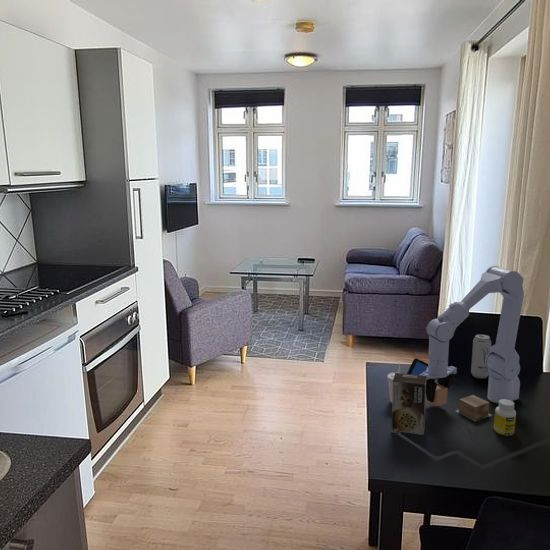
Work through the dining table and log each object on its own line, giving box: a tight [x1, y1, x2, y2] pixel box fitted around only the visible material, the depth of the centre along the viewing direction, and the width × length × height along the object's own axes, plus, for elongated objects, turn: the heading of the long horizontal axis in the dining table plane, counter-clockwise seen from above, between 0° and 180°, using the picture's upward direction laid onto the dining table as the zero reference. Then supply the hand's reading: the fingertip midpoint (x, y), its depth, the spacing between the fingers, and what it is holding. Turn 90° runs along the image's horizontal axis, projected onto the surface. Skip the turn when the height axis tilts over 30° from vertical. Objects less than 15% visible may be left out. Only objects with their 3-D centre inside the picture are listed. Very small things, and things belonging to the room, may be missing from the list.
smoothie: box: [386, 362, 404, 404], centre depth 159 cm, size 6×6×14 cm
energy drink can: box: [470, 333, 492, 379], centre depth 180 cm, size 6×6×15 cm
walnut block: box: [458, 394, 490, 420], centre depth 152 cm, size 6×6×4 cm
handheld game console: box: [406, 358, 437, 383], centre depth 174 cm, size 12×11×7 cm
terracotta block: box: [425, 382, 449, 407], centre depth 155 cm, size 4×4×5 cm
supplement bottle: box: [493, 399, 517, 437], centre depth 140 cm, size 5×5×10 cm
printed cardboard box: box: [391, 372, 427, 436], centre depth 143 cm, size 9×6×16 cm
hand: (436, 399), depth 156 cm, fingers closed on terracotta block, 4 cm apart
